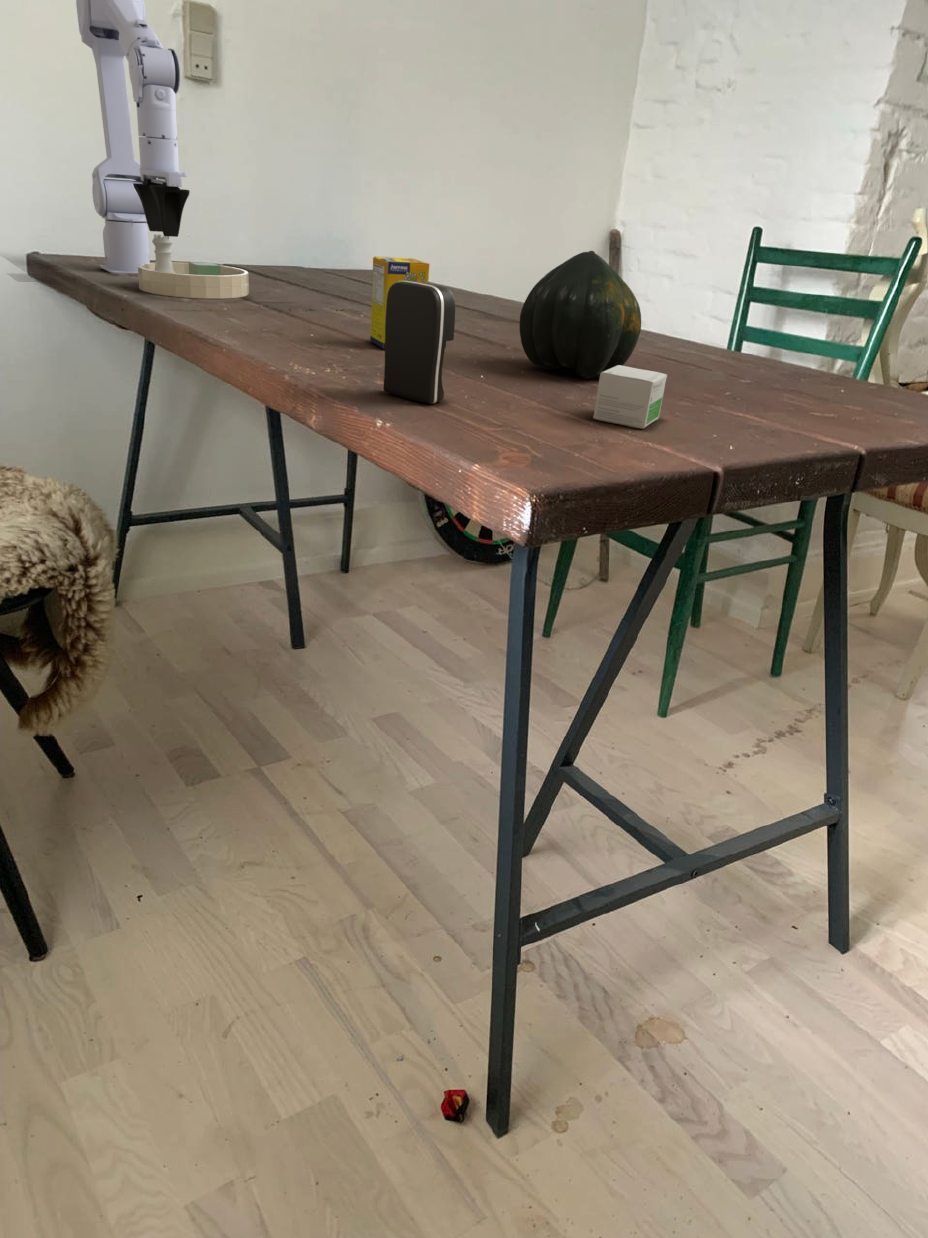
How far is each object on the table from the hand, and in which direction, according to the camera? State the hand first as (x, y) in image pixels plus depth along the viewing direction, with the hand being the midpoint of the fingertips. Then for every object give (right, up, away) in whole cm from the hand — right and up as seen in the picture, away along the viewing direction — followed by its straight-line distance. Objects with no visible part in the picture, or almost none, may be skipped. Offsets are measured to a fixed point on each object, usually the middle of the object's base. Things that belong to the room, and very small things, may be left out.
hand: (163, 233), depth 146 cm
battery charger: (+43, -39, -50) cm, 77 cm away
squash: (+62, -30, -30) cm, 75 cm away
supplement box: (+39, -25, -24) cm, 52 cm away
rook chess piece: (-1, -8, +3) cm, 8 cm away
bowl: (+4, -9, +3) cm, 10 cm away
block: (+5, -7, +6) cm, 10 cm away
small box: (+65, -41, -51) cm, 93 cm away
